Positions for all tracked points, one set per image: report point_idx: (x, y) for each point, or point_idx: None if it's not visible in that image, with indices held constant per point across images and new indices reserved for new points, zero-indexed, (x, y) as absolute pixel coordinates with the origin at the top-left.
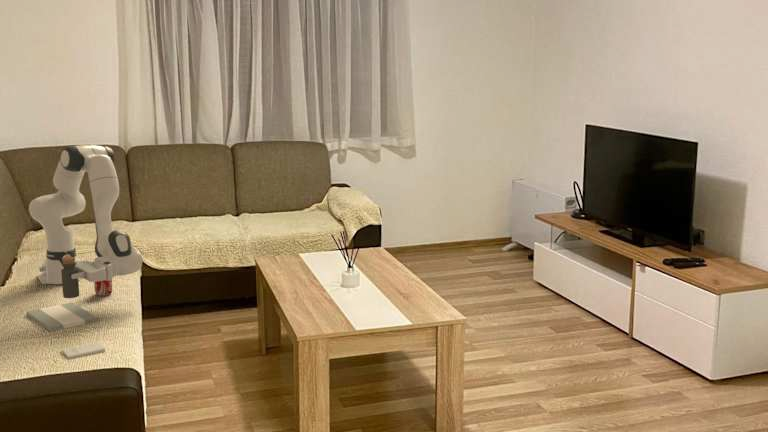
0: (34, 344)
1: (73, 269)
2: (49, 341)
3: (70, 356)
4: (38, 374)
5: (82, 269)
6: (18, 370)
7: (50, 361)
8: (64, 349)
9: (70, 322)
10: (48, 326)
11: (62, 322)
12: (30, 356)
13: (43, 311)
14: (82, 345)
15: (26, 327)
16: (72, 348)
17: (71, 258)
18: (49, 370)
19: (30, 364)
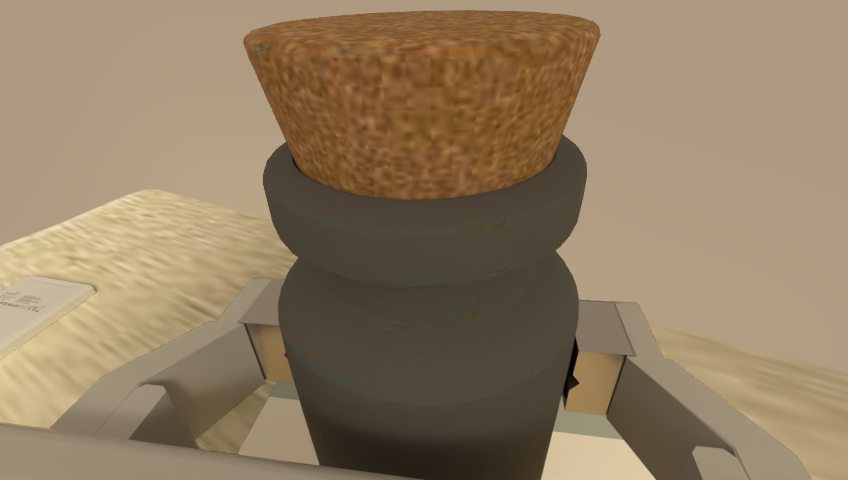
0: (250, 273)
1: (301, 272)
2: (215, 308)
3: (19, 280)
4: (80, 217)
5: (165, 450)
6: (154, 206)
7: (92, 252)
8: (75, 288)
9: (255, 442)
10: None
11: (302, 411)
12: (186, 240)
13: (599, 438)
14: (2, 337)
15: None
16: (42, 306)
17: (339, 27)
18: (59, 233)
19: (146, 225)
